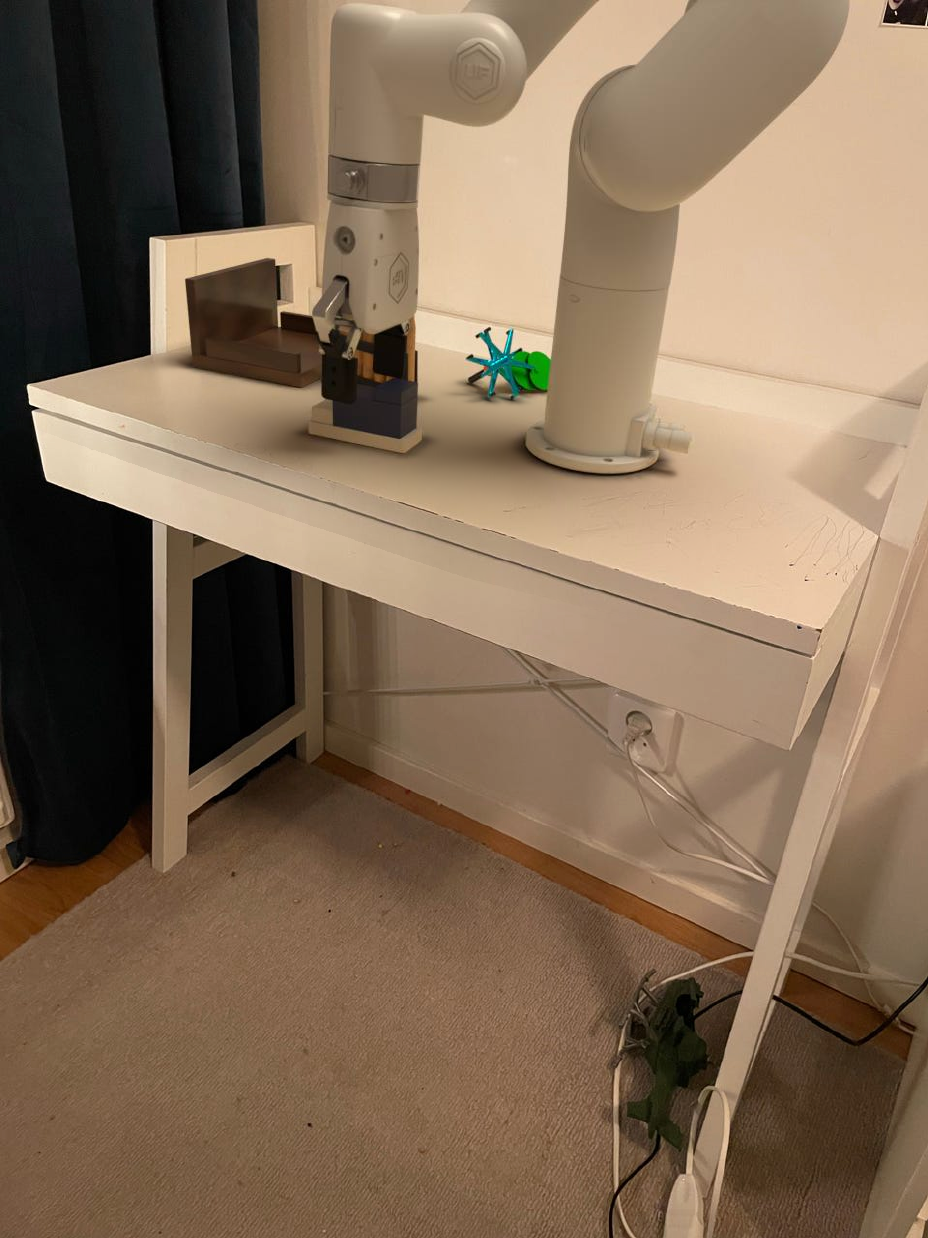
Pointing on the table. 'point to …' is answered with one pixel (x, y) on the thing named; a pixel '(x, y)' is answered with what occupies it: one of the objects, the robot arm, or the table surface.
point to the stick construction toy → (512, 367)
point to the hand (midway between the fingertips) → (364, 387)
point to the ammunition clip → (366, 358)
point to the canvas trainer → (372, 417)
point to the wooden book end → (250, 327)
